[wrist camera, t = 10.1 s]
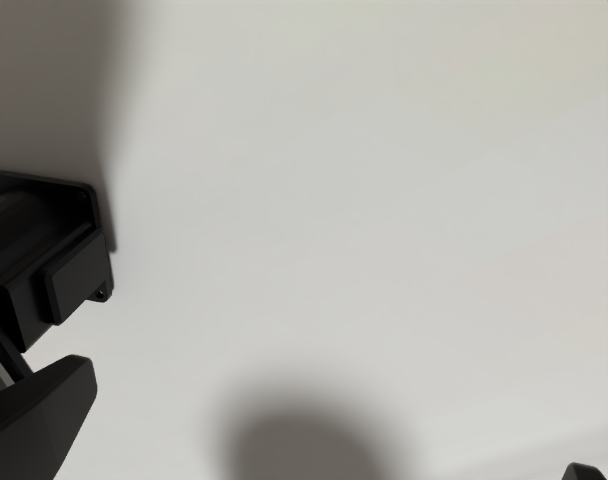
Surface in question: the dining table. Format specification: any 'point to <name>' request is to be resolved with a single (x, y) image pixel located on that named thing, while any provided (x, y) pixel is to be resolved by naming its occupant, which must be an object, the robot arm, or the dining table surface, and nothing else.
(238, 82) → the dining table surface
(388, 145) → the dining table surface
